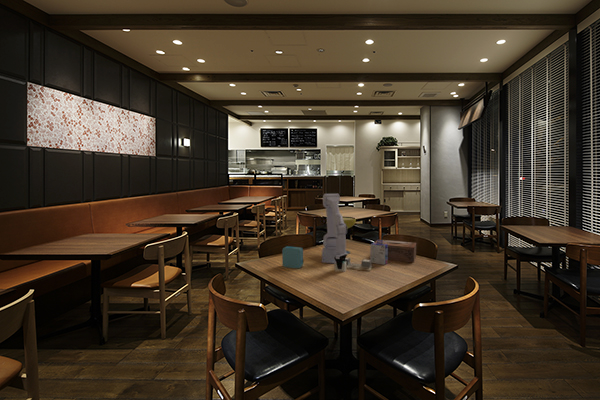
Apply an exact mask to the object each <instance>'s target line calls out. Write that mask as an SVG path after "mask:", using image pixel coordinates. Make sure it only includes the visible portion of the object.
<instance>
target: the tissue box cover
mask: <svg viewBox="0 0 600 400" xmlns="http://www.w3.org/2000/svg"><path fill="white" fill-rule="evenodd" d="M382 240H383V243H382V244H388V261H389V260H390V261H397V262H404V263H405V262H406V263H415V261H416V258H417V242H411V241H410V242H409V241H401V240H400V241H399V240H389V239H387V240H386V239H382ZM378 242H381V241H378ZM374 243H377V240H375V242H374Z"/></svg>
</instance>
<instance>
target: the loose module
mask: <svg viewBox="0 0 600 400" xmlns="http://www.w3.org/2000/svg"><path fill="white" fill-rule="evenodd" d="M334 271H335V272H346V271H347V268H346V261H343V263H342V269H338V268H337V263H336V262H335V264H334Z"/></svg>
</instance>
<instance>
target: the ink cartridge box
mask: <svg viewBox="0 0 600 400" xmlns="http://www.w3.org/2000/svg"><path fill="white" fill-rule="evenodd" d="M383 240H384V239H377V240H376V241H377V243H375V242H371V244H370V256H369V258H370V259H369V260H371V264H372V263H373V264H377V265H383V266H385V265H388V261H389V260H388V244H382V243H383ZM378 241H381V242H378Z"/></svg>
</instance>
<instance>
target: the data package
mask: <svg viewBox="0 0 600 400" xmlns="http://www.w3.org/2000/svg"><path fill="white" fill-rule="evenodd" d="M281 252H282V255H281V256H282V267H284V268H291V269H299V270H300V269H301V268H302V267H303V266H304V249H303V247H300V246H299V247H298V246H290V245H289V246H288V245H287V246H285V247H283V248H282V251H281Z"/></svg>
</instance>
